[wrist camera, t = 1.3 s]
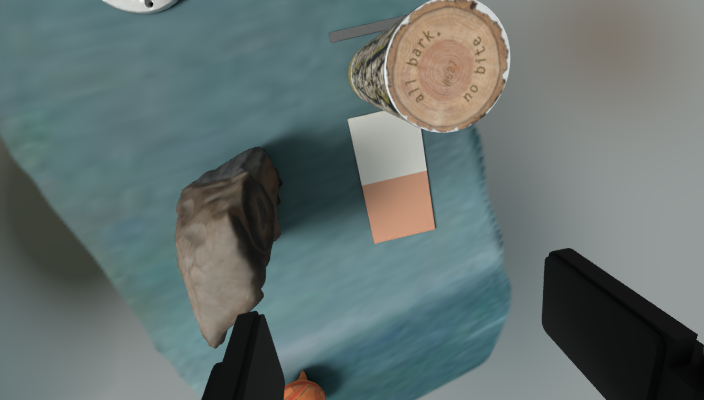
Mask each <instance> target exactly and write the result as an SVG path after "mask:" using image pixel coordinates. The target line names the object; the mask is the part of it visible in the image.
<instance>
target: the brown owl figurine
mask: <svg viewBox="0 0 704 400" xmlns="http://www.w3.org/2000/svg"><path fill="white" fill-rule="evenodd" d="M281 185H282V181H281V179H280V178H279V174H278V171H277V169H276V168H274V166H273V164H272V162H271V160H270V158H269V156H268V155H267V154H266V153H265V150H264V149H263V148H261V147H254V148H251V149H248V150H246V151H244V152H242V153H241V154H239V155H237V156H236V157H234V158H233V159H231V160H230V161H228V162H226V163H225V164H223V165H222V166H220V167H219V168H217V169H216V170H214V171H208V172H206V173H205V174H203V175H202V176H201V177H200V178H199V179H198V180H196V181H195V182H192V183H191V184H190V185H188V186H187V187H186V188H184V189H183V191H182V193H181V197H180V199H179V201H178V204H177V208H176V212H177V215H178V217H177V222H176V224H177V225H176V230H175V242H176V247H177V262H178V268H179V270H180V272H181V275H182V277H183V280H184V282H185V284H186V287H187V291H188V296H189V299H190V303H191V306H192V309H193V312H194V315H195V318H196V320H197V322H198V324H199V327H200V330H201V333H202V335H203V337H204V338H205V340H206V341H207V342H208V345H209V346H210V347H213V348H217V347H218V346H219V345H220V344H222V343H223V342H224V340H225V337H226V334H227V330H228V329H229V328H230V327H231V326H233V325H234V324H235V321H236V318H237V316H238V315H239V314H243V313H247V312H250V311H251V310H252V309H253V308H254V307H255V306H256V305H257V304H258V303H259V302H260V301H261V300H262V298H263V297H264V294H263V292H262V290H261V288H262V287H263V285H264V283H265V279H266V266H267V265H268V263H269V261H270V254H271V249H272V244H273V242H274V241H276V240H277V239H278V238H279V237H280V235H281V231H280V227H279V223H278V214H277V205H279V204H280V198H279V196H278V192H279V187H280V186H281Z"/></svg>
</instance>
